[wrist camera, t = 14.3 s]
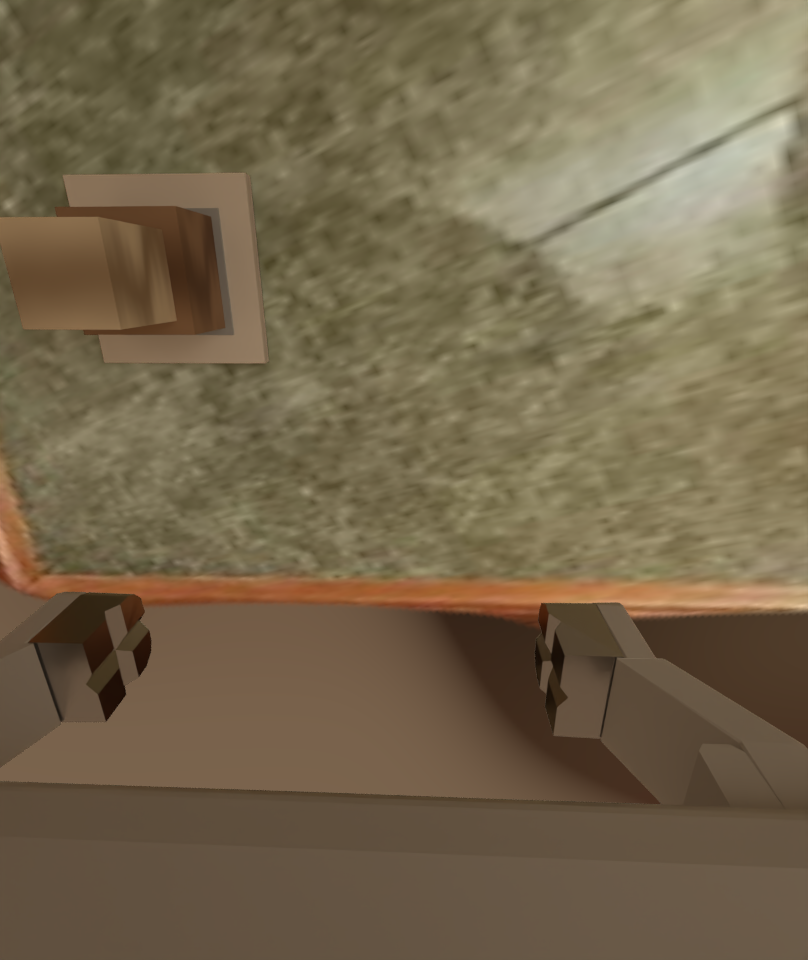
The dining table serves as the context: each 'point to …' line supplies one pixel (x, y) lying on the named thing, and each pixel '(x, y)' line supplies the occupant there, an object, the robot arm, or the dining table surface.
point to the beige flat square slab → (234, 252)
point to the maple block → (86, 273)
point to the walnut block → (174, 265)
